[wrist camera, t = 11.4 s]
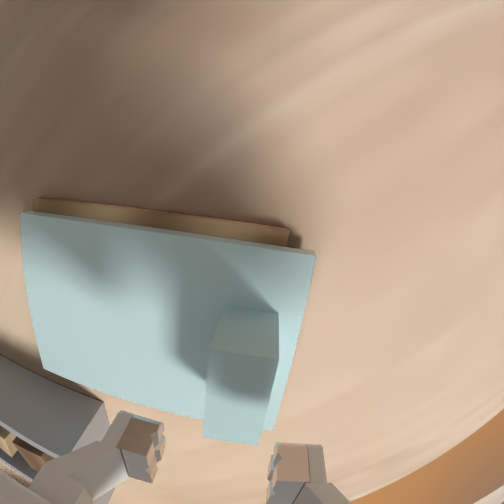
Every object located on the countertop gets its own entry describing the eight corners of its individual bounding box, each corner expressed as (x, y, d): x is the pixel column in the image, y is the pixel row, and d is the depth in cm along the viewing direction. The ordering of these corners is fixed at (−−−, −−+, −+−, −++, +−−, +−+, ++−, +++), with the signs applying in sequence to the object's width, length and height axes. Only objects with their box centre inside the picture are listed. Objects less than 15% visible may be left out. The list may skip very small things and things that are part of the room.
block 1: (31, 407, 18) (4, 439, 14) (35, 427, 19) (12, 457, 15) (4, 386, 18) (-24, 415, 14) (9, 407, 19) (-15, 434, 15)
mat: (288, 228, 14) (289, 231, 13) (252, 418, 17) (251, 425, 16) (40, 197, 14) (33, 199, 13) (59, 367, 17) (55, 371, 17)
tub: (103, 402, 18) (66, 459, 12) (123, 470, 20) (101, 516, 15) (-20, 342, 18) (-58, 373, 12) (9, 415, 21) (-18, 446, 15)
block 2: (68, 418, 18) (41, 457, 13) (83, 445, 19) (61, 482, 14) (39, 408, 18) (12, 441, 14) (55, 434, 19) (31, 468, 14)
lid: (313, 251, 13) (330, 288, 9) (273, 421, 16) (271, 477, 12) (28, 210, 14) (-25, 226, 10) (49, 362, 17) (15, 397, 12)
